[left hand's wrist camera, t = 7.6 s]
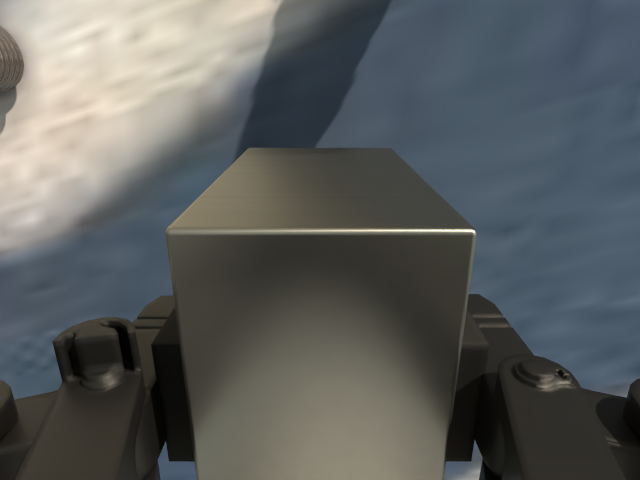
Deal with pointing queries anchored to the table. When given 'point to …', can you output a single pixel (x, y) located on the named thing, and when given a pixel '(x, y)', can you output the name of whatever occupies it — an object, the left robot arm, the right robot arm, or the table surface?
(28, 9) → the table surface
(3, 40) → the light bulb
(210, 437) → the bar
